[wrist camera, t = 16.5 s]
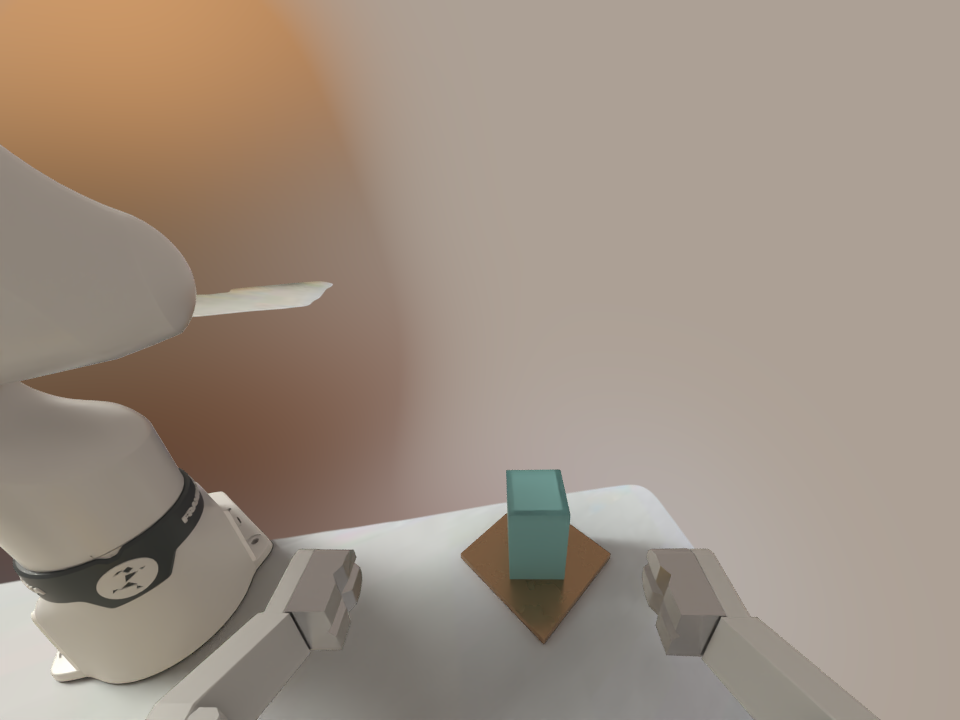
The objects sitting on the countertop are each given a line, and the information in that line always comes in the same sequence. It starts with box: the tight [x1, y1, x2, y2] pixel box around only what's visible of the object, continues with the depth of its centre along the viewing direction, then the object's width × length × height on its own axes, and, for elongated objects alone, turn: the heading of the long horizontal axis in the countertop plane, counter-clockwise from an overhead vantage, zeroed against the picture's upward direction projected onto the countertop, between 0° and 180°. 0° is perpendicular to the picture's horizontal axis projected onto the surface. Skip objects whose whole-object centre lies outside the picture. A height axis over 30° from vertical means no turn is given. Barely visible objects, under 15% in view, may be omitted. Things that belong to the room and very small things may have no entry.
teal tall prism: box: [506, 470, 570, 579], centre depth 38 cm, size 6×6×10 cm
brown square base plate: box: [461, 513, 610, 644], centre depth 39 cm, size 17×17×8 cm
